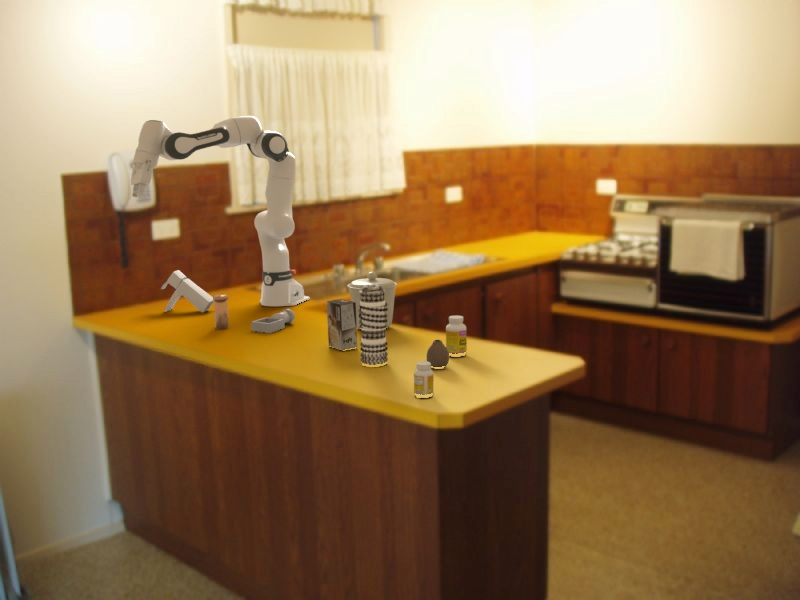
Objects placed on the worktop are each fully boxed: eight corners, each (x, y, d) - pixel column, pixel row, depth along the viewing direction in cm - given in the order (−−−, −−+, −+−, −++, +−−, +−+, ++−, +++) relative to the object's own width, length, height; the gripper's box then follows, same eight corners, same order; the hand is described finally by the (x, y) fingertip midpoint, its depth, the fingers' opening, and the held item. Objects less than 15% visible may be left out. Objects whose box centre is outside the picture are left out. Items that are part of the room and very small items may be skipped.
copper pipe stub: (221, 325, 355) (219, 294, 353) (232, 327, 352) (231, 295, 350) (211, 328, 350) (209, 296, 348) (222, 330, 347) (220, 297, 345)
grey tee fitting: (280, 322, 359) (279, 307, 358) (298, 324, 355) (297, 309, 353) (251, 331, 345) (250, 316, 344) (270, 333, 340) (269, 318, 339)
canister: (404, 324, 350) (403, 268, 346) (388, 335, 334) (386, 276, 329) (359, 322, 356) (357, 267, 352) (341, 332, 339) (339, 275, 335)
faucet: (209, 301, 377) (172, 270, 378) (188, 331, 382) (151, 300, 383) (216, 298, 383) (179, 267, 384) (194, 328, 388) (158, 297, 389)
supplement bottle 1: (416, 400, 256) (415, 366, 255) (412, 394, 262) (411, 361, 260) (435, 398, 257) (435, 364, 255) (431, 393, 262) (430, 360, 261)
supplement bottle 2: (460, 359, 298) (460, 319, 296) (442, 356, 302) (441, 317, 299) (470, 354, 304) (470, 315, 302) (452, 352, 307) (451, 314, 305)
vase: (425, 365, 292) (425, 338, 290) (447, 364, 292) (447, 337, 290) (428, 371, 285) (427, 343, 283) (450, 370, 285) (450, 342, 284)
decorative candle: (391, 366, 291) (390, 287, 286) (362, 369, 289) (360, 289, 284) (386, 359, 300) (384, 282, 295) (357, 361, 298) (355, 284, 293)
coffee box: (358, 349, 314) (357, 302, 311) (342, 352, 311) (340, 304, 308) (343, 344, 322) (341, 298, 319) (327, 347, 318) (325, 300, 315)
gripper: (159, 161, 349) (150, 197, 348) (148, 165, 367) (139, 199, 367) (142, 156, 346) (133, 192, 346) (132, 160, 365) (123, 195, 364)
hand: (136, 196), depth 356 cm, fingers open, 8 cm apart
